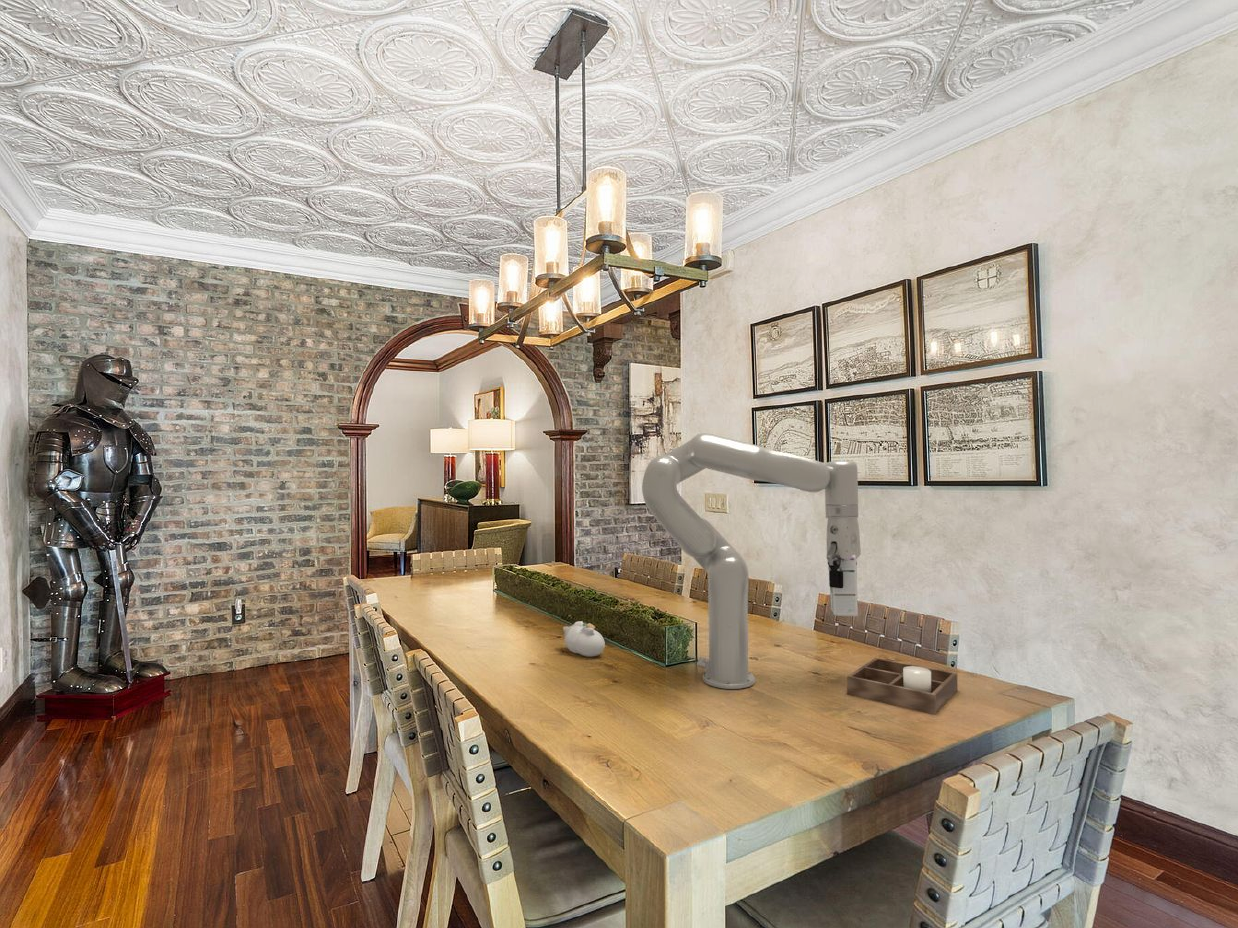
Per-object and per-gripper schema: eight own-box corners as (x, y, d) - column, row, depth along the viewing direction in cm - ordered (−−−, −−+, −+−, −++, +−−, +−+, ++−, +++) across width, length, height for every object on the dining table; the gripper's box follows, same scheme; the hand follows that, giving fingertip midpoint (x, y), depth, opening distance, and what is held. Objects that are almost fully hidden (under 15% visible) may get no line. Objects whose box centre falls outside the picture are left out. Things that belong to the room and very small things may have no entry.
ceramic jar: (900, 702, 138) (899, 670, 138) (908, 695, 142) (907, 664, 142) (927, 708, 135) (926, 675, 135) (934, 701, 139) (934, 669, 139)
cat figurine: (606, 624, 176) (568, 610, 186) (587, 644, 171) (550, 628, 181) (615, 649, 180) (578, 634, 190) (598, 669, 175) (560, 652, 185)
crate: (847, 698, 144) (847, 676, 144) (875, 677, 158) (875, 657, 158) (935, 719, 132) (934, 694, 132) (957, 694, 146) (957, 672, 146)
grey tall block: (858, 616, 150) (857, 555, 150) (832, 615, 151) (831, 554, 151) (854, 611, 156) (853, 551, 156) (829, 610, 157) (828, 551, 157)
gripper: (843, 515, 145) (844, 592, 144) (870, 510, 158) (871, 581, 158) (811, 513, 150) (813, 588, 149) (840, 509, 163) (841, 578, 163)
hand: (843, 584), depth 154 cm, fingers closed on grey tall block, 7 cm apart
